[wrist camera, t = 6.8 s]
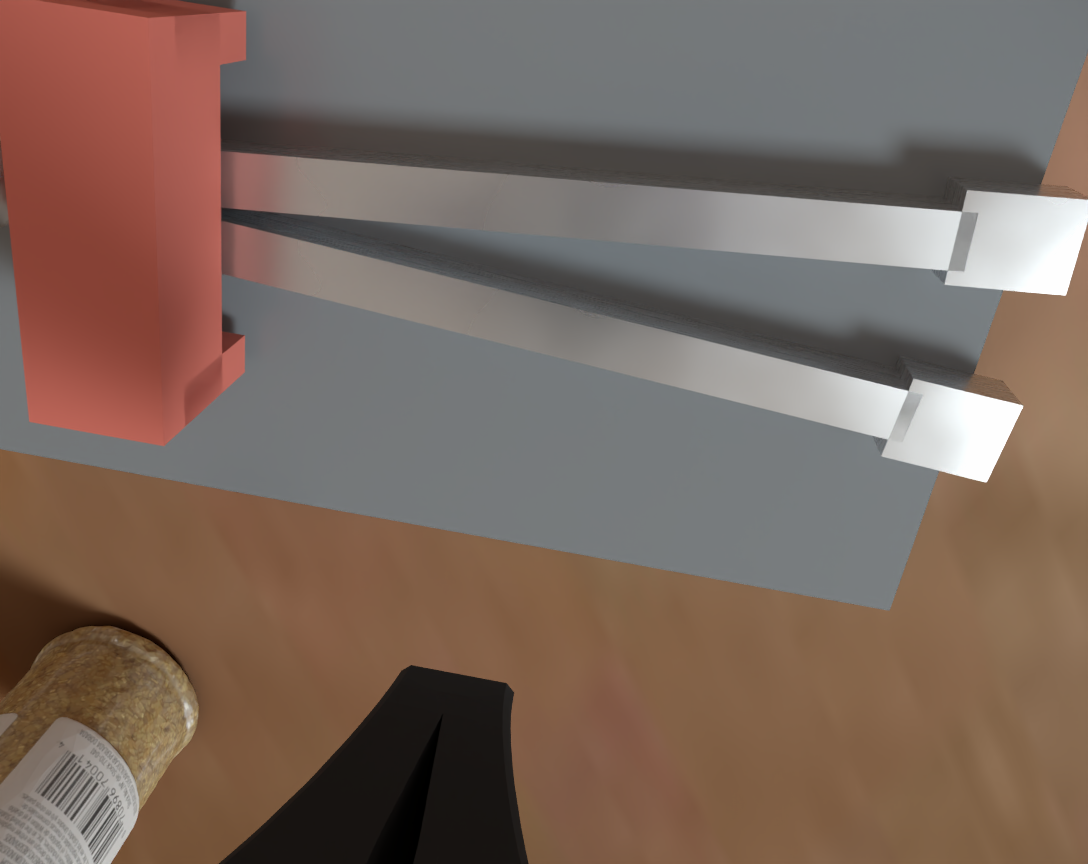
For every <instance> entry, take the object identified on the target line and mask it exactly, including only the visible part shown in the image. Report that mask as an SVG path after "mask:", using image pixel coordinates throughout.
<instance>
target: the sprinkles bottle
mask: <svg viewBox="0 0 1088 864" xmlns="http://www.w3.org/2000/svg"><path fill="white" fill-rule="evenodd" d="M198 712H199V705H198V702H197V697H196V693H195V691H194V689H193V686H192V684H191V683H190V682H189V680H188V678H187V675H186V674H185V673H184V672H183V670H182V669H181V667H180V666H179V665H178V664H177V663H176V662H175V661H174V660H173V659H172V658H171V657H170V655H169V654H167V653H166V652H165V651H164V650H163V649H161V648H160V647H159V646H157V645H156V644H154V643H153V642H151V641H150V640H148V639H146V638H143V637H141V636H138V635H136V634H133V633H131V632H128V631H125V630H122V629H119V628H116V627H112V626H88V627H82V628H78V629H75V630H73V631H71V632H67V633H65V634H62V635H60V636H57V637H56V638H54V639H53V640H52V641H50V642H49V643H48V644H47V645H46V646H45V647H44V648H43V649H42V650H41V652H40V653H39V654H38V655H37V657H36V659H35V660H34V662H33V664H32V666H31V669H30V670H29V671H28V673H27V674H26V675H25V676H24V677H23V678H22V679H21V680H20V681H19V683H18V684H17V685H16V686H15V687H14V688H13V689H12V690H11V691H10V692H9V693H8V694H7V695H6V696H5V697H4V699H3V700H2V701H1V702H0V864H111V862H112V861H113V859H114V857H115V856H116V854H117V853H118V851H119V849H120V848H121V846H122V845H123V843H124V841H125V840H126V838H127V837H128V835H129V833H130V832H131V830H132V828H133V827H134V824H135V822H136V820H137V816H138V812H139V811H140V809H141V808H142V806H143V805H144V804H145V802H146V801H147V799H148V797H149V795H150V794H151V793H152V791H153V790H154V788H155V786H156V785H157V782H158V781H159V779H160V778H161V777H162V775H163V774H164V772H165V771H166V769H167V767H168V766H169V764H170V763H171V761H172V760H173V758H174V757H175V756H176V755H177V754H178V753H179V752H180V751H181V750H182V749H183V748H184V747H185V746H186V745H187V744H188V743H189V742H190V740H191V738H192V736H193V734H194V732H195V730H196V726H197V720H198Z"/></svg>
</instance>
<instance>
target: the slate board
mask: <svg viewBox="0 0 1088 864" xmlns="http://www.w3.org/2000/svg"><path fill="white" fill-rule="evenodd" d="M178 1H185V2H191V3H197V4H204V5H210V6H216V7H223V8H229V9H235V10H242V11H246V60H243V61H238V62H233V63H227V64H222V65H220V132H221V139H229V140H241V141H254V142H266V143H279V144H291V145H303V146H316V147H328V148H340V149H353V150H365V151H378V152H390V153H402V154H415V155H427V156H439V157H452V158H464V159H477V160H489V161H501V162H514V163H526V164H538V165H551V166H563V167H576V168H588V169H600V170H613V171H625V172H638V173H650V174H662V175H675V176H687V177H699V178H712V179H724V180H737V181H749V182H761V183H774V184H786V185H798V186H811V187H823V188H836V189H848V190H860V191H873V192H885V193H897V194H910V195H922V196H935V197H944V194H945V189H946V185H947V181H948V177H955V178H968V179H980V180H993V181H1006V182H1018V183H1031V184H1041V182H1042V180H1043V177H1044V174H1045V171H1046V168H1047V166H1048V163H1049V160H1050V157H1051V154H1052V151H1053V149H1054V146H1055V143H1056V140H1057V137H1058V135H1059V132H1060V129H1061V126H1062V123H1063V120H1064V118H1065V115H1066V112H1067V109H1068V106H1069V104H1070V101H1071V98H1072V95H1073V92H1074V89H1075V87H1076V84H1077V81H1078V78H1079V75H1080V73H1081V70H1082V67H1083V64H1084V61H1085V58H1086V56H1087V53H1088V0H178ZM270 213H274V214H278V215H282V216H286V217H290V218H294V219H298V220H303V221H307V222H311V223H315V224H319V225H323V226H327V227H331V228H335V229H339V230H343V231H347V232H351V233H355V234H359V235H363V236H367V237H371V238H375V239H379V240H383V241H387V242H391V243H395V244H399V245H403V246H407V247H412V248H416V249H420V250H424V251H428V252H432V253H436V254H440V255H444V256H448V257H452V258H456V259H460V260H464V261H468V262H472V263H476V264H480V265H484V266H488V267H492V268H496V269H500V270H504V271H508V272H512V273H516V274H520V275H525V276H529V277H533V278H537V279H541V280H545V281H549V282H553V283H557V284H561V285H565V286H569V287H573V288H577V289H581V290H585V291H589V292H593V293H597V294H601V295H605V296H609V297H613V298H617V299H621V300H625V301H629V302H633V303H638V304H642V305H646V306H650V307H654V308H658V309H662V310H666V311H670V312H674V313H678V314H682V315H686V316H690V317H694V318H698V319H702V320H706V321H710V322H714V323H718V324H722V325H726V326H730V327H734V328H738V329H742V330H747V331H751V332H755V333H759V334H763V335H767V336H771V337H775V338H779V339H783V340H787V341H791V342H795V343H799V344H803V345H807V346H811V347H815V348H819V349H823V350H827V351H831V352H835V353H839V354H843V355H847V356H851V357H855V358H860V359H864V360H868V361H872V362H876V363H880V364H884V365H888V366H892V367H895V365H896V363H897V360H898V358H899V355H900V356H904V357H908V358H912V359H916V360H920V361H924V362H928V363H932V364H936V365H940V366H944V367H948V368H953V369H957V370H961V371H965V372H969V373H973V374H974V371H975V368H976V365H977V363H978V360H979V357H980V354H981V351H982V349H983V346H984V343H985V340H986V337H987V335H988V332H989V329H990V326H991V323H992V320H993V318H994V315H995V312H996V309H997V306H998V304H999V301H1000V298H1001V295H1002V292H1003V290H998V289H986V288H975V287H964V286H952V285H944V284H943V283H942V282H941V281H940V279H939V278H938V277H937V276H936V275H935V274H934V273H933V272H932V271H931V269H923V268H911V267H900V266H888V265H877V264H865V263H854V262H842V261H831V260H819V259H808V258H796V257H784V256H773V255H761V254H750V253H738V252H727V251H715V250H704V249H692V248H681V247H669V246H658V245H646V244H635V243H623V242H612V241H600V240H589V239H577V238H566V237H554V236H543V235H531V234H519V233H508V232H496V231H485V230H473V229H462V228H450V227H439V226H427V225H416V224H404V223H393V222H381V221H370V220H358V219H347V218H335V217H324V216H312V215H301V214H289V213H277V212H270ZM222 331H223V332H229V333H235V334H240V335H245V372H244V373H243V374H242V375H241V376H240V377H239V378H238V379H237V380H236V381H235V382H233V383H232V384H231V385H230V386H229V387H228V388H227V389H226V390H225V391H224V392H223V393H221V394H220V395H219V396H218V397H217V398H216V399H215V400H214V401H213V402H212V403H211V404H209V405H208V406H207V407H206V408H205V409H204V410H203V411H202V412H201V413H200V414H199V415H197V416H196V417H195V418H194V419H193V420H192V421H191V422H190V423H189V424H188V425H187V426H185V427H184V428H183V429H182V430H181V431H180V432H179V433H178V434H177V435H176V436H175V437H173V438H172V439H171V440H170V441H169V442H168V443H167V444H166V445H165V446H160V445H155V444H149V443H144V442H138V441H132V440H127V439H121V438H116V437H110V436H105V435H99V434H94V433H88V432H82V431H77V430H71V429H66V428H60V427H55V426H49V425H44V424H38V423H33V422H29V414H28V404H27V395H26V385H25V375H24V365H23V356H22V346H21V336H20V326H19V316H18V307H17V297H16V287H15V277H14V268H13V258H12V248H11V238H10V228H9V225H7V226H4V227H1V228H0V449H3V450H9V451H14V452H20V453H25V454H31V455H36V456H42V457H47V458H53V459H58V460H64V461H69V462H75V463H80V464H86V465H91V466H97V467H102V468H108V469H113V470H119V471H124V472H130V473H135V474H141V475H146V476H152V477H157V478H163V479H168V480H174V481H179V482H185V483H190V484H196V485H201V486H207V487H212V488H218V489H223V490H229V491H234V492H240V493H245V494H251V495H256V496H262V497H267V498H273V499H278V500H284V501H289V502H295V503H300V504H306V505H311V506H317V507H322V508H328V509H333V510H339V511H344V512H350V513H355V514H361V515H366V516H372V517H377V518H383V519H388V520H394V521H399V522H405V523H410V524H416V525H421V526H427V527H432V528H438V529H443V530H449V531H454V532H460V533H465V534H471V535H476V536H482V537H487V538H493V539H498V540H504V541H509V542H515V543H520V544H526V545H531V546H537V547H542V548H548V549H553V550H559V551H564V552H570V553H575V554H581V555H586V556H592V557H597V558H603V559H608V560H614V561H619V562H625V563H630V564H636V565H641V566H647V567H652V568H658V569H663V570H669V571H674V572H680V573H685V574H691V575H696V576H702V577H707V578H713V579H718V580H724V581H729V582H735V583H740V584H746V585H751V586H757V587H762V588H768V589H773V590H779V591H784V592H790V593H795V594H801V595H806V596H812V597H817V598H823V599H828V600H834V601H839V602H845V603H850V604H856V605H861V606H867V607H872V608H878V609H883V610H889V611H890V608H891V605H892V602H893V599H894V596H895V594H896V591H897V588H898V585H899V582H900V580H901V577H902V574H903V571H904V568H905V565H906V563H907V560H908V557H909V554H910V551H911V549H912V546H913V543H914V540H915V537H916V534H917V532H918V529H919V526H920V523H921V520H922V518H923V515H924V512H925V509H926V506H927V504H928V501H929V498H930V495H931V492H932V489H933V487H934V484H935V481H936V478H937V475H938V473H939V471H938V470H934V469H930V468H926V467H922V466H918V465H914V464H910V463H906V462H902V461H898V460H894V459H890V458H886V457H882V456H881V455H880V452H879V450H878V448H877V446H876V443H875V441H874V439H873V437H872V436H871V435H867V434H863V433H859V432H855V431H851V430H847V429H843V428H839V427H835V426H831V425H827V424H823V423H819V422H815V421H811V420H807V419H803V418H799V417H795V416H791V415H787V414H783V413H779V412H775V411H771V410H767V409H763V408H759V407H755V406H751V405H747V404H743V403H739V402H735V401H731V400H727V399H723V398H719V397H715V396H711V395H707V394H703V393H699V392H695V391H690V390H686V389H682V388H678V387H674V386H670V385H666V384H662V383H658V382H654V381H650V380H646V379H642V378H638V377H634V376H630V375H626V374H622V373H618V372H614V371H610V370H606V369H602V368H598V367H594V366H590V365H586V364H582V363H578V362H574V361H570V360H566V359H562V358H558V357H554V356H550V355H546V354H542V353H538V352H534V351H530V350H526V349H522V348H518V347H514V346H510V345H506V344H502V343H498V342H494V341H490V340H486V339H482V338H478V337H474V336H469V335H465V334H461V333H457V332H453V331H449V330H445V329H441V328H437V327H433V326H429V325H425V324H421V323H417V322H413V321H409V320H405V319H401V318H397V317H393V316H389V315H385V314H381V313H377V312H373V311H369V310H365V309H361V308H357V307H353V306H349V305H345V304H341V303H337V302H333V301H329V300H325V299H321V298H317V297H313V296H309V295H305V294H301V293H297V292H293V291H289V290H285V289H281V288H277V287H273V286H269V285H265V284H261V283H257V282H253V281H248V280H244V279H240V278H236V277H232V276H228V275H224V274H222Z"/></svg>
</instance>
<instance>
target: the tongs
mask: <svg viewBox="0 0 1088 864" xmlns="http://www.w3.org/2000/svg"><path fill="white" fill-rule="evenodd" d="M270 212H277V213H289V214H301V215H312V216H324V217H335V218H347V219H358V220H370V221H381V222H393V223H404V224H416V225H427V226H439V227H450V228H462V229H473V230H485V231H496V232H508V233H519V234H531V235H543V236H554V237H566V238H577V239H589V240H600V241H612V242H623V243H635V244H646V245H658V246H669V247H681V248H692V249H704V250H715V251H727V252H738V253H750V254H761V255H773V256H784V257H796V258H808V259H819V260H831V261H842V262H854V263H865V264H877V265H888V266H900V267H911V268H923V269H931V271H932V272H933V273H934V274H935V275H936V276H937V277H938V278H939V279H940V281H941V282H942V283H943V284H944V285H952V286H964V287H975V288H986V289H998V290H1009V291H1020V292H1032V293H1043V294H1055V295H1066V293H1067V289H1068V286H1069V283H1070V279H1071V276H1072V273H1073V269H1074V266H1075V263H1076V259H1077V256H1078V252H1079V249H1080V246H1081V242H1082V239H1083V236H1084V232H1085V229H1086V226H1087V222H1088V197H1087V196H1085V195H1083V194H1081V193H1079V192H1077V191H1075V190H1073V189H1071V188H1069V187H1067V186H1056V185H1044V184H1031V183H1018V182H1006V181H993V180H980V179H968V178H955V177H948V181H947V185H946V189H945V194H944V197H935V196H922V195H910V194H897V193H885V192H873V191H860V190H848V189H836V188H823V187H811V186H798V185H786V184H774V183H761V182H749V181H737V180H724V179H712V178H699V177H687V176H675V175H662V174H650V173H638V172H625V171H613V170H600V169H588V168H576V167H563V166H551V165H538V164H526V163H514V162H501V161H489V160H477V159H464V158H452V157H439V156H427V155H415V154H402V153H390V152H378V151H365V150H353V149H340V148H328V147H316V146H303V145H291V144H279V143H266V142H254V141H241V140H229V139H221V274H224V275H228V276H232V277H236V278H240V279H244V280H248V281H253V282H257V283H261V284H265V285H269V286H273V287H277V288H281V289H285V290H289V291H293V292H297V293H301V294H305V295H309V296H313V297H317V298H321V299H325V300H329V301H333V302H337V303H341V304H345V305H349V306H353V307H357V308H361V309H365V310H369V311H373V312H377V313H381V314H385V315H389V316H393V317H397V318H401V319H405V320H409V321H413V322H417V323H421V324H425V325H429V326H433V327H437V328H441V329H445V330H449V331H453V332H457V333H461V334H465V335H469V336H474V337H478V338H482V339H486V340H490V341H494V342H498V343H502V344H506V345H510V346H514V347H518V348H522V349H526V350H530V351H534V352H538V353H542V354H546V355H550V356H554V357H558V358H562V359H566V360H570V361H574V362H578V363H582V364H586V365H590V366H594V367H598V368H602V369H606V370H610V371H614V372H618V373H622V374H626V375H630V376H634V377H638V378H642V379H646V380H650V381H654V382H658V383H662V384H666V385H670V386H674V387H678V388H682V389H686V390H690V391H695V392H699V393H703V394H707V395H711V396H715V397H719V398H723V399H727V400H731V401H735V402H739V403H743V404H747V405H751V406H755V407H759V408H763V409H767V410H771V411H775V412H779V413H783V414H787V415H791V416H795V417H799V418H803V419H807V420H811V421H815V422H819V423H823V424H827V425H831V426H835V427H839V428H843V429H847V430H851V431H855V432H859V433H863V434H867V435H871V436H872V437H873V439H874V441H875V443H876V446H877V448H878V450H879V452H880V455H881V456H882V457H886V458H890V459H894V460H898V461H902V462H906V463H910V464H914V465H918V466H922V467H926V468H930V469H934V470H938V471H942V472H946V473H950V474H954V475H958V476H962V477H966V478H970V479H974V480H979V481H983V482H987V480H988V478H989V476H990V474H991V472H992V470H993V468H994V466H995V464H996V462H997V459H998V457H999V455H1000V453H1001V451H1002V449H1003V447H1004V445H1005V443H1006V441H1007V439H1008V437H1009V434H1010V432H1011V430H1012V428H1013V426H1014V424H1015V422H1016V420H1017V418H1018V416H1019V414H1020V412H1021V409H1022V407H1023V405H1022V404H1021V402H1020V401H1019V400H1018V399H1017V398H1016V396H1015V395H1014V394H1013V393H1012V392H1011V390H1010V389H1009V388H1008V387H1007V386H1006V384H1005V383H1004V382H1003V381H1001V380H997V379H993V378H989V377H985V376H981V375H977V374H973V373H969V372H965V371H961V370H957V369H953V368H948V367H944V366H940V365H936V364H932V363H928V362H924V361H920V360H916V359H912V358H908V357H904V356H900V355H899V358H898V360H897V363H896V365H895V367H892V366H888V365H884V364H880V363H876V362H872V361H868V360H864V359H860V358H855V357H851V356H847V355H843V354H839V353H835V352H831V351H827V350H823V349H819V348H815V347H811V346H807V345H803V344H799V343H795V342H791V341H787V340H783V339H779V338H775V337H771V336H767V335H763V334H759V333H755V332H751V331H747V330H742V329H738V328H734V327H730V326H726V325H722V324H718V323H714V322H710V321H706V320H702V319H698V318H694V317H690V316H686V315H682V314H678V313H674V312H670V311H666V310H662V309H658V308H654V307H650V306H646V305H642V304H638V303H633V302H629V301H625V300H621V299H617V298H613V297H609V296H605V295H601V294H597V293H593V292H589V291H585V290H581V289H577V288H573V287H569V286H565V285H561V284H557V283H553V282H549V281H545V280H541V279H537V278H533V277H529V276H525V275H520V274H516V273H512V272H508V271H504V270H500V269H496V268H492V267H488V266H484V265H480V264H476V263H472V262H468V261H464V260H460V259H456V258H452V257H448V256H444V255H440V254H436V253H432V252H428V251H424V250H420V249H416V248H412V247H407V246H403V245H399V244H395V243H391V242H387V241H383V240H379V239H375V238H371V237H367V236H363V235H359V234H355V233H351V232H347V231H343V230H339V229H335V228H331V227H327V226H323V225H319V224H315V223H311V222H307V221H303V220H298V219H294V218H290V217H286V216H282V215H278V214H274V213H270ZM7 225H9V219H8V209H7V199H6V189H5V180H4V170H3V160H2V150H1V141H0V228H1V227H4V226H7Z"/></svg>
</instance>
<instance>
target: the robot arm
mask: <svg viewBox="0 0 1088 864" xmlns="http://www.w3.org/2000/svg"><path fill="white" fill-rule="evenodd" d="M513 696H514V692H513V691H512V689H511V688H510V687H509V686H508V684H507V683H502V682H497V681H492V680H487V679H481V678H476V677H471V676H465V675H460V674H455V673H449V672H444V671H439V670H434V669H428V668H423V667H418V666H412V665H411V666H409V667H407V668H406V669H404V670H402V671H401V672H400V674H399V675H398V677H397V678H396V680H395V681H394V683H393V684H392V685H391V687H390V688H389V689H388V691H387V692H386V693H385V695H384V696H383V697H382V699H381V700H380V701H379V702H378V704H377V705H376V706H375V707H374V709H373V710H372V711H371V712H370V713H369V715H368V716H367V717H366V718H365V719H364V721H363V722H362V723H361V724H360V725H359V726H358V728H357V729H356V730H355V731H354V732H353V733H352V735H351V736H350V737H349V738H348V739H347V740H346V741H345V742H344V743H343V745H342V746H341V747H340V748H339V749H338V750H337V751H336V752H335V753H334V754H333V755H332V756H331V758H330V759H329V760H328V761H327V762H326V763H325V764H324V765H323V766H322V767H321V768H320V769H319V771H318V772H317V773H316V774H315V775H314V776H313V777H312V778H311V779H310V780H309V781H308V782H307V783H306V784H305V785H304V786H303V787H302V788H301V789H300V790H299V791H298V792H297V793H296V794H295V795H294V796H293V797H292V798H290V799H289V800H288V801H287V802H286V803H285V804H284V805H283V806H282V807H281V808H280V809H279V810H278V811H277V812H276V813H275V814H274V815H273V816H272V817H271V818H270V819H269V820H268V821H267V822H266V823H264V824H263V825H262V826H261V827H260V828H259V829H258V830H257V831H256V832H255V833H254V834H252V835H251V836H250V837H249V838H248V839H247V840H246V841H245V842H243V843H242V844H241V845H240V846H239V847H238V848H237V849H235V850H234V851H233V852H232V853H231V854H230V855H228V856H227V857H226V858H225V859H224V860H222V861H221V862H220V863H219V864H528V860H527V855H526V850H525V845H524V840H523V835H522V830H521V824H520V817H519V811H518V805H517V798H516V792H515V785H514V776H513V767H512V753H511V729H510V728H511V709H512V702H513Z"/></svg>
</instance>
